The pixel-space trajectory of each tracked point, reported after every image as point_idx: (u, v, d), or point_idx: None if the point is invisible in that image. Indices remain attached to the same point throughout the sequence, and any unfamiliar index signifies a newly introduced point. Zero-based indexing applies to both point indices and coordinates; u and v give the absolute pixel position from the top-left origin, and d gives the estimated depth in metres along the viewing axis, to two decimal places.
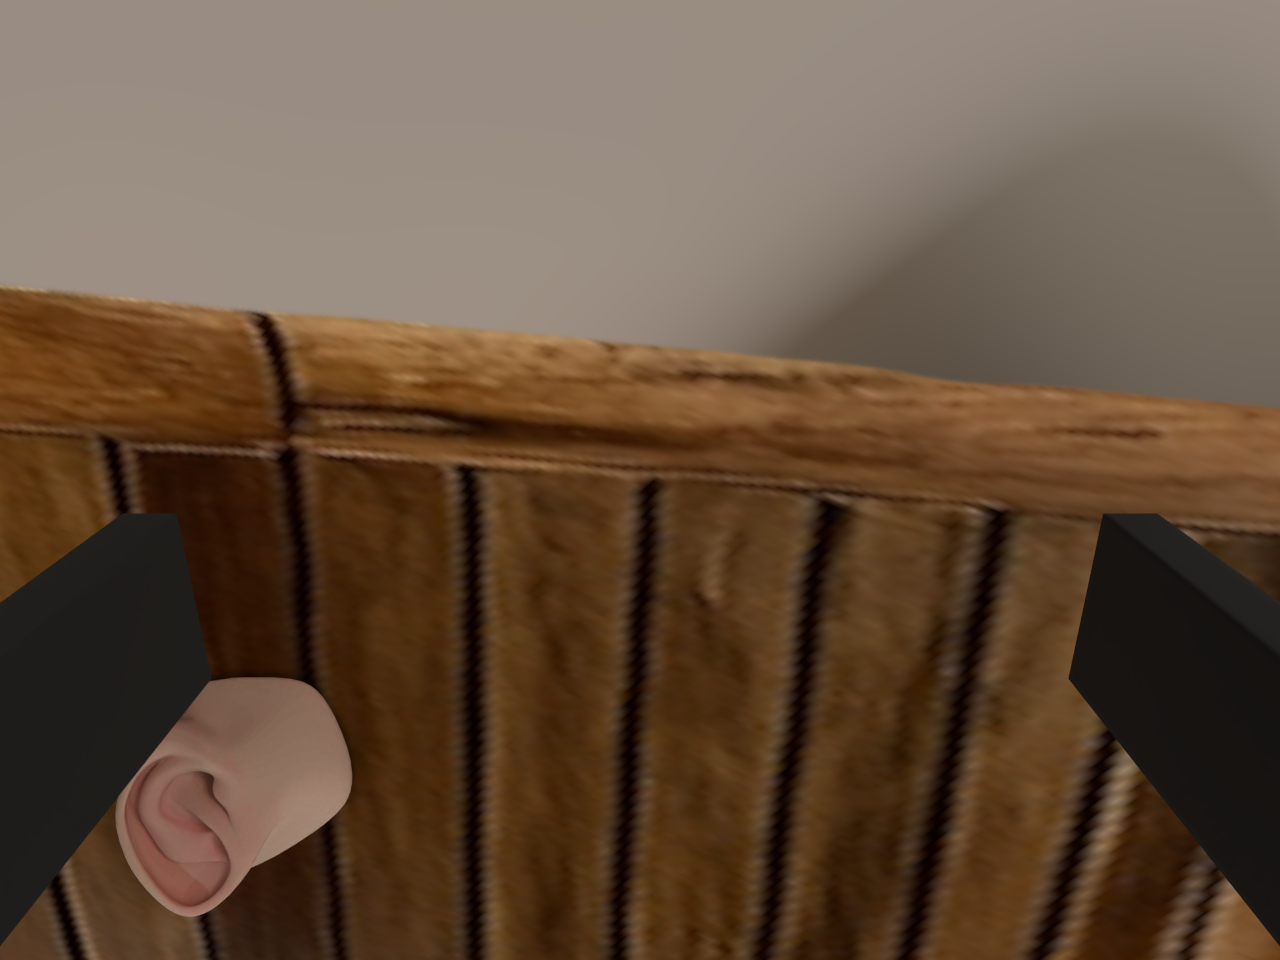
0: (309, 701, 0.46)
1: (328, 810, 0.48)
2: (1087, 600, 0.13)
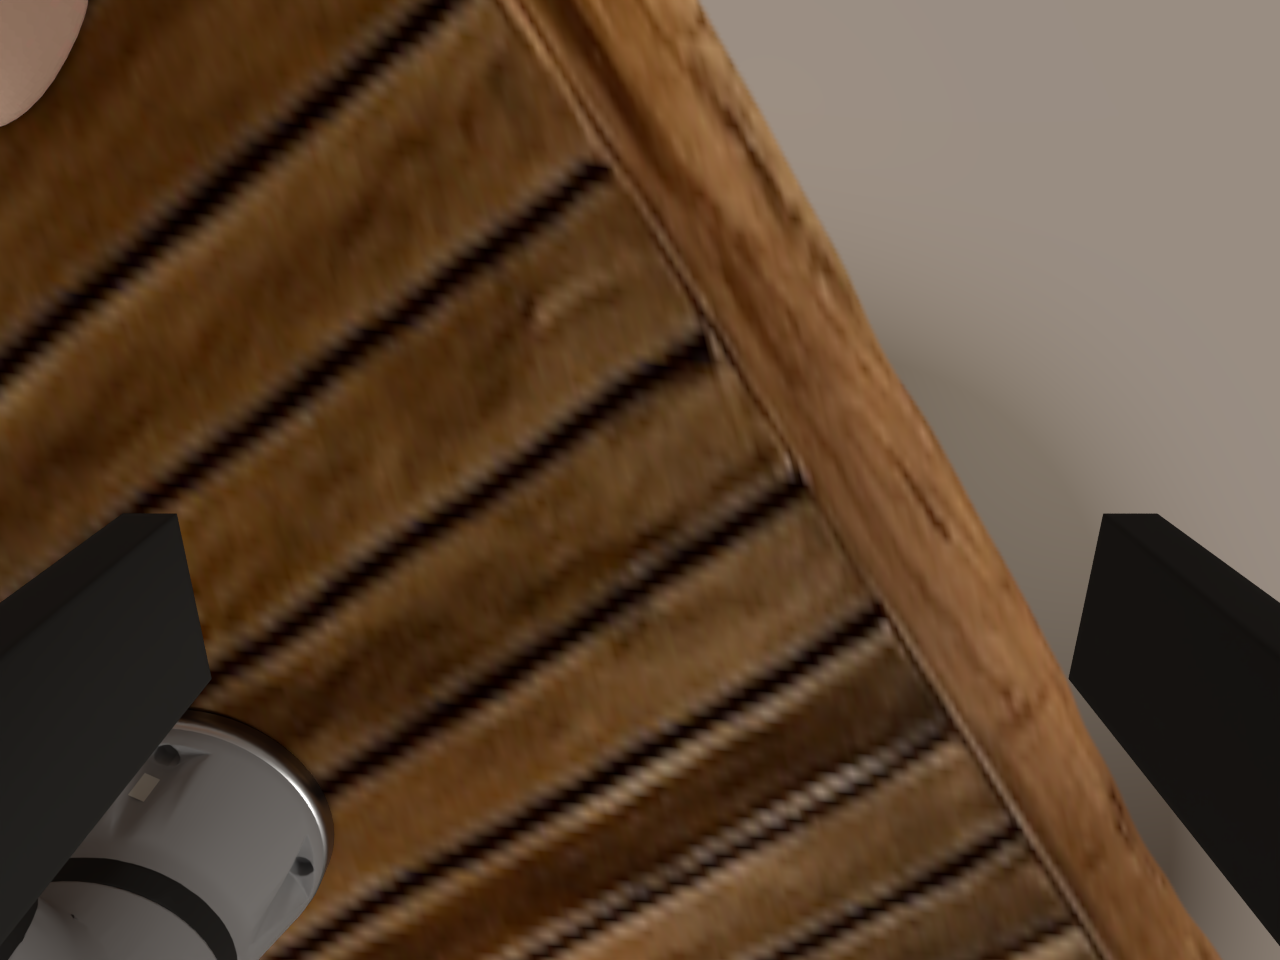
0: None
1: None
2: (1087, 600, 0.13)
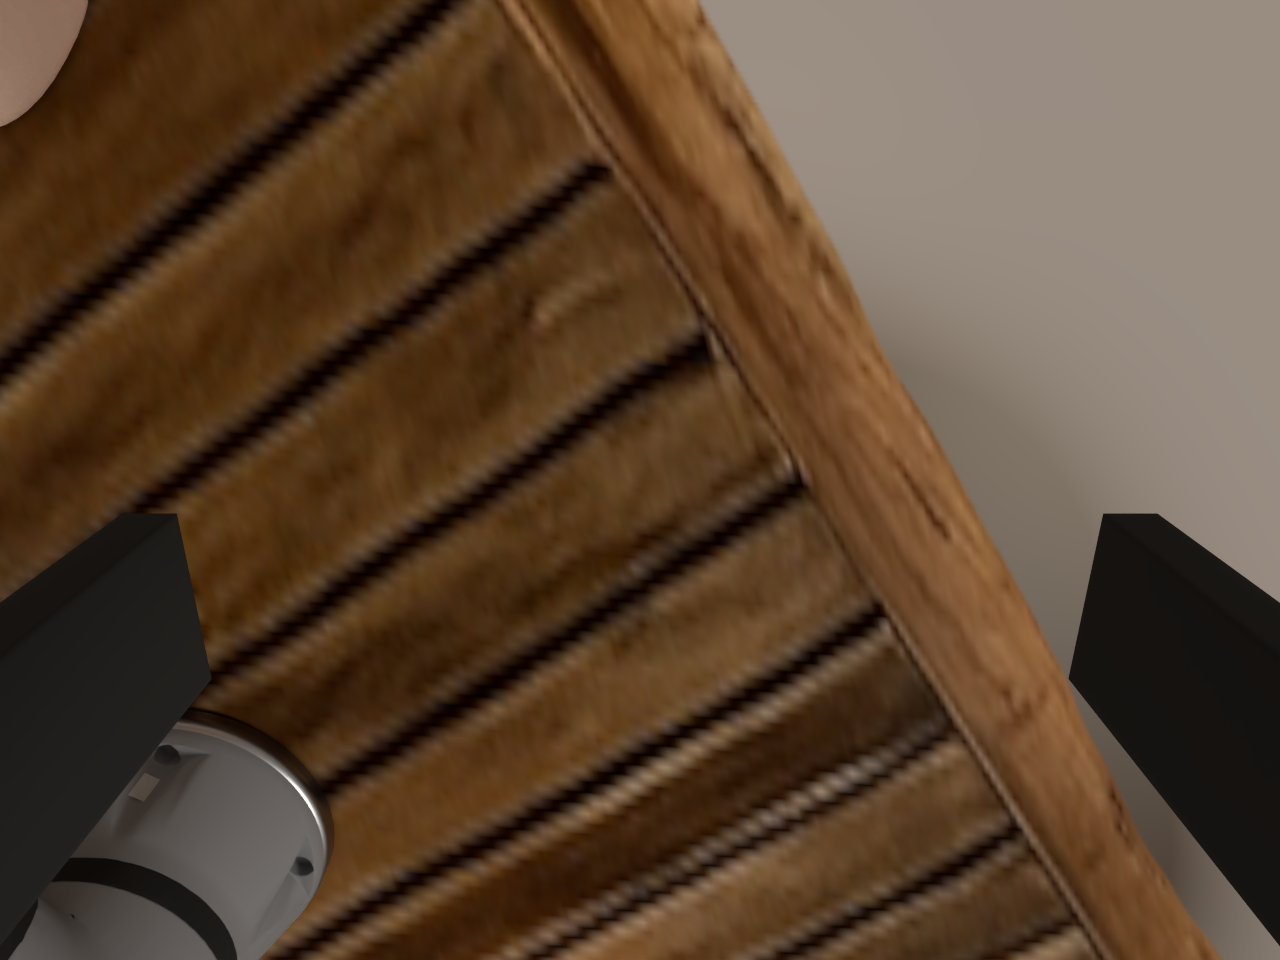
0: None
1: None
2: (1087, 600, 0.13)
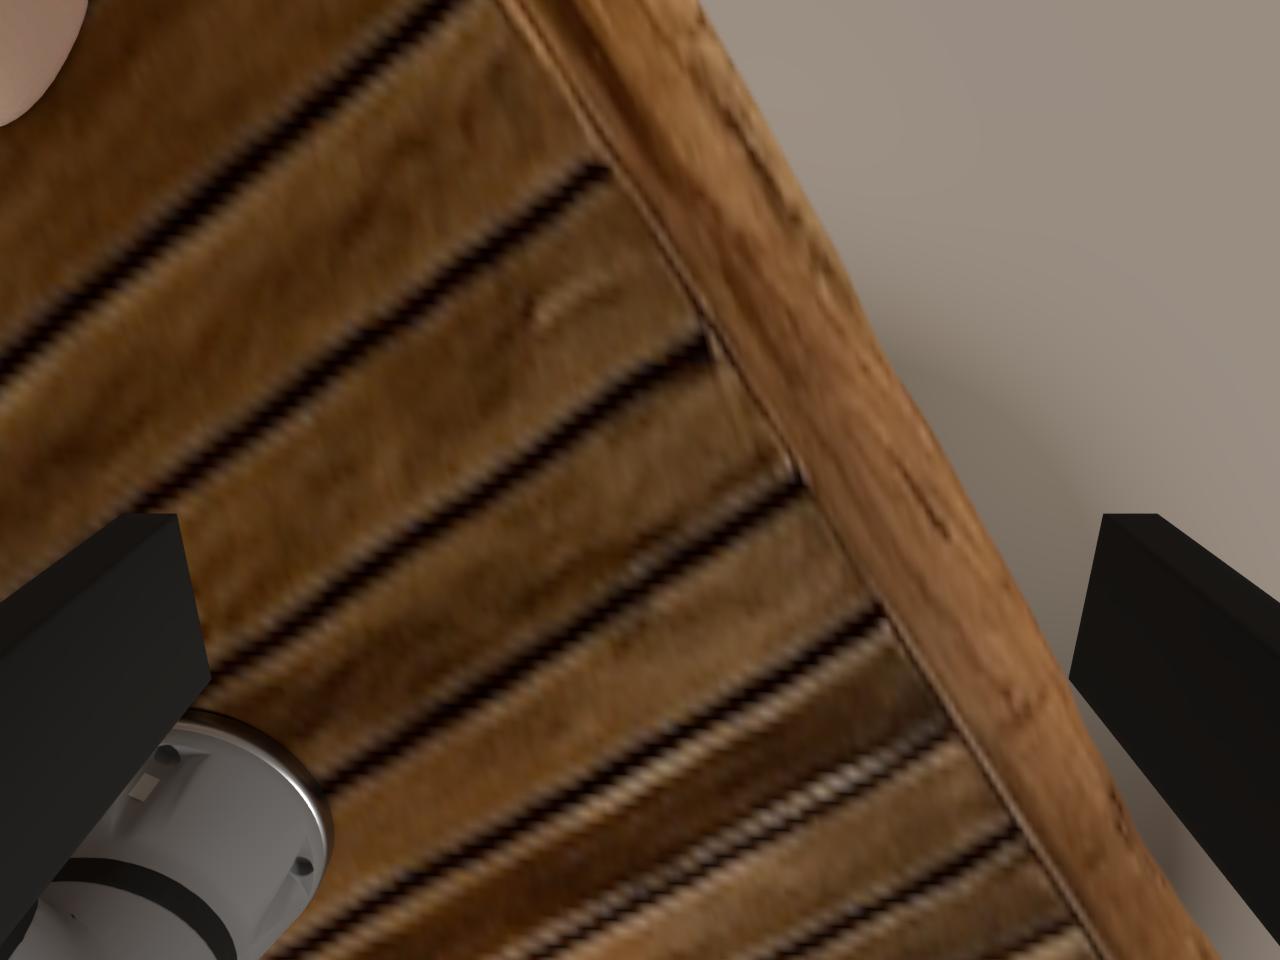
0: None
1: None
2: (1087, 600, 0.13)
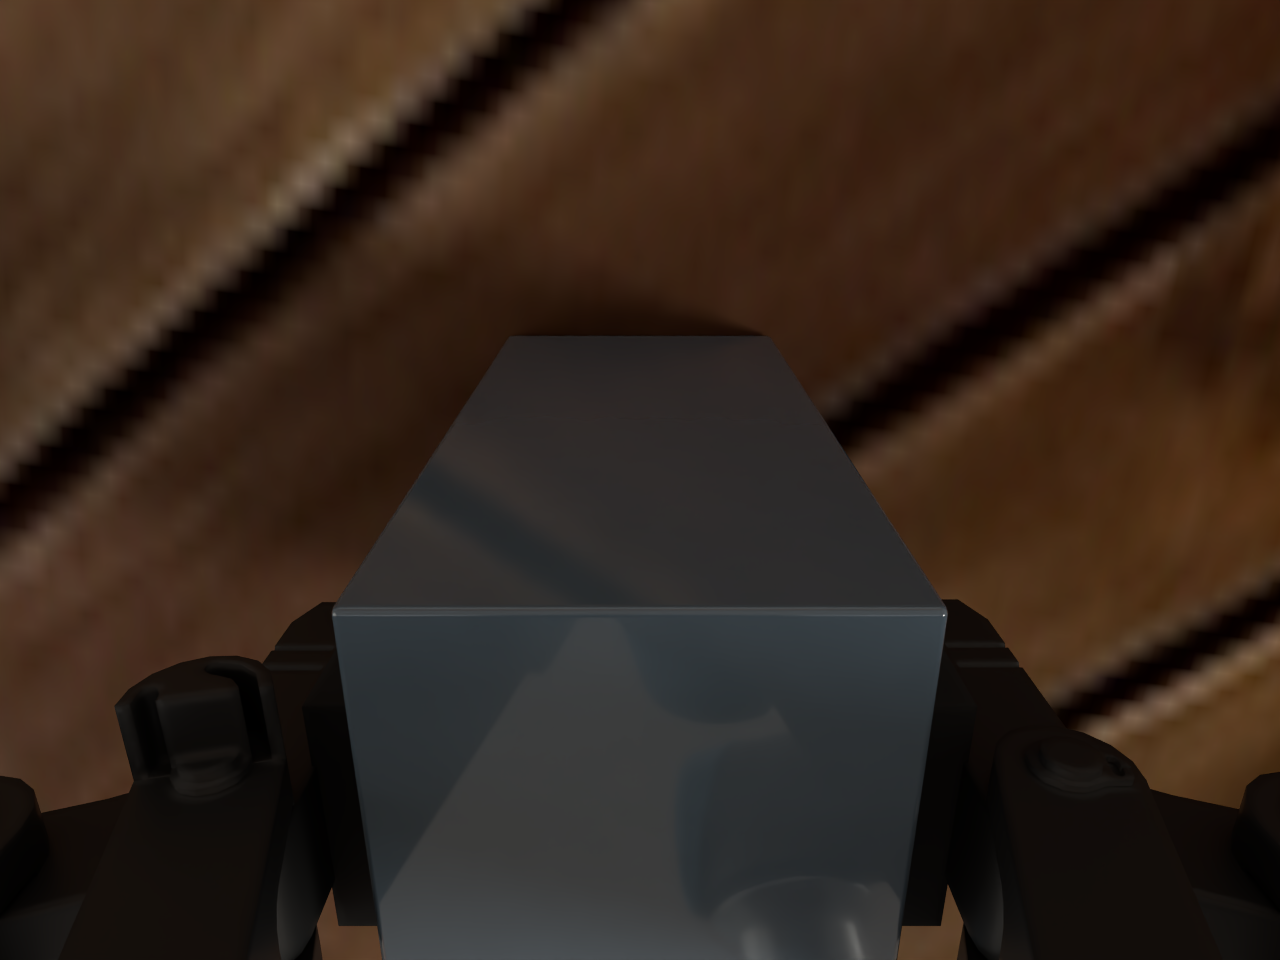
0: None
1: None
2: None
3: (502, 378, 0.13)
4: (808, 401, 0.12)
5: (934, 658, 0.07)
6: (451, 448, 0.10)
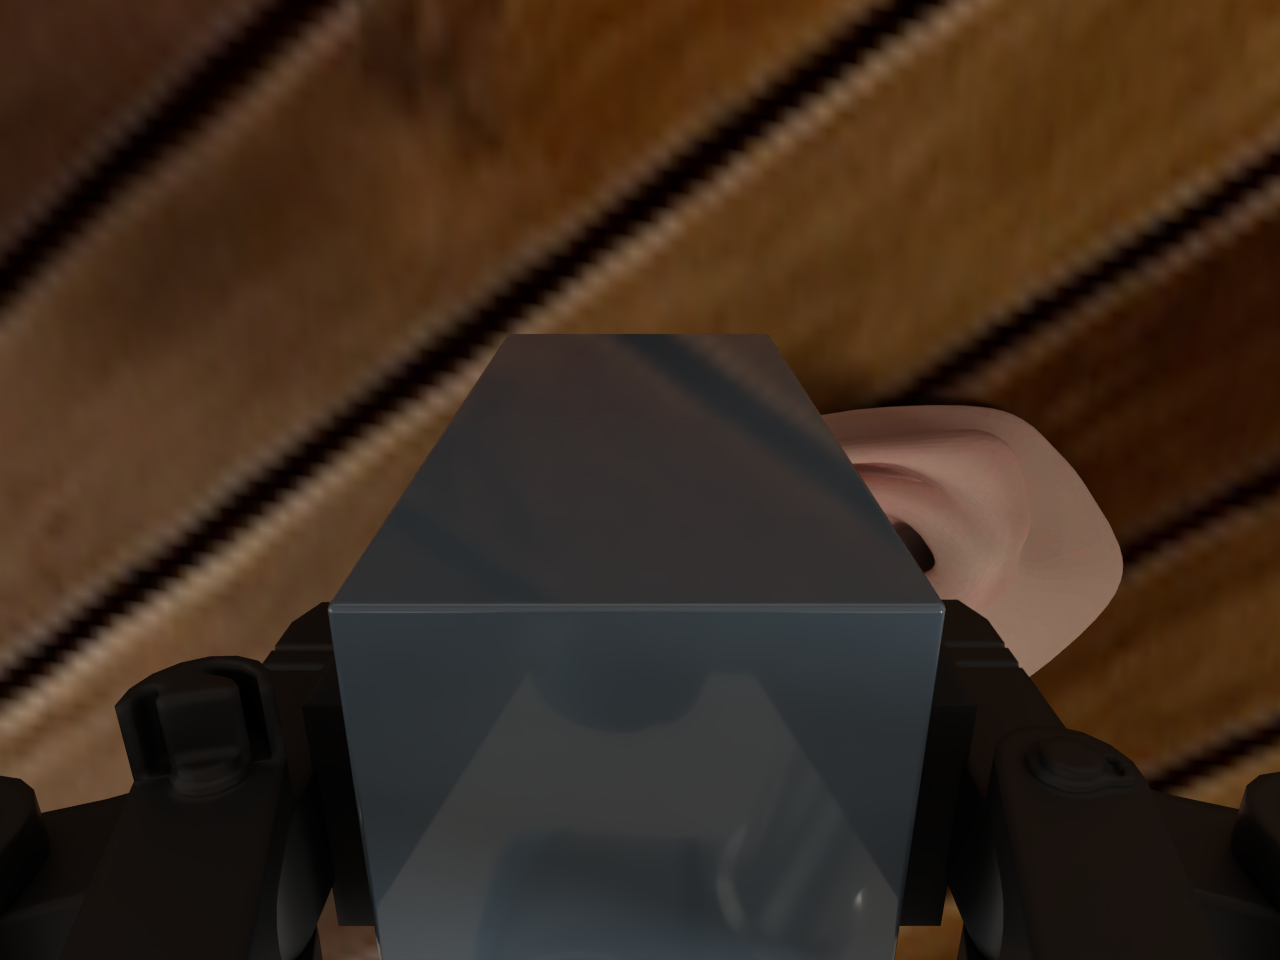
0: (1107, 597, 0.25)
1: None
2: None
3: (500, 376, 0.13)
4: (807, 399, 0.12)
5: (931, 655, 0.07)
6: (449, 446, 0.10)
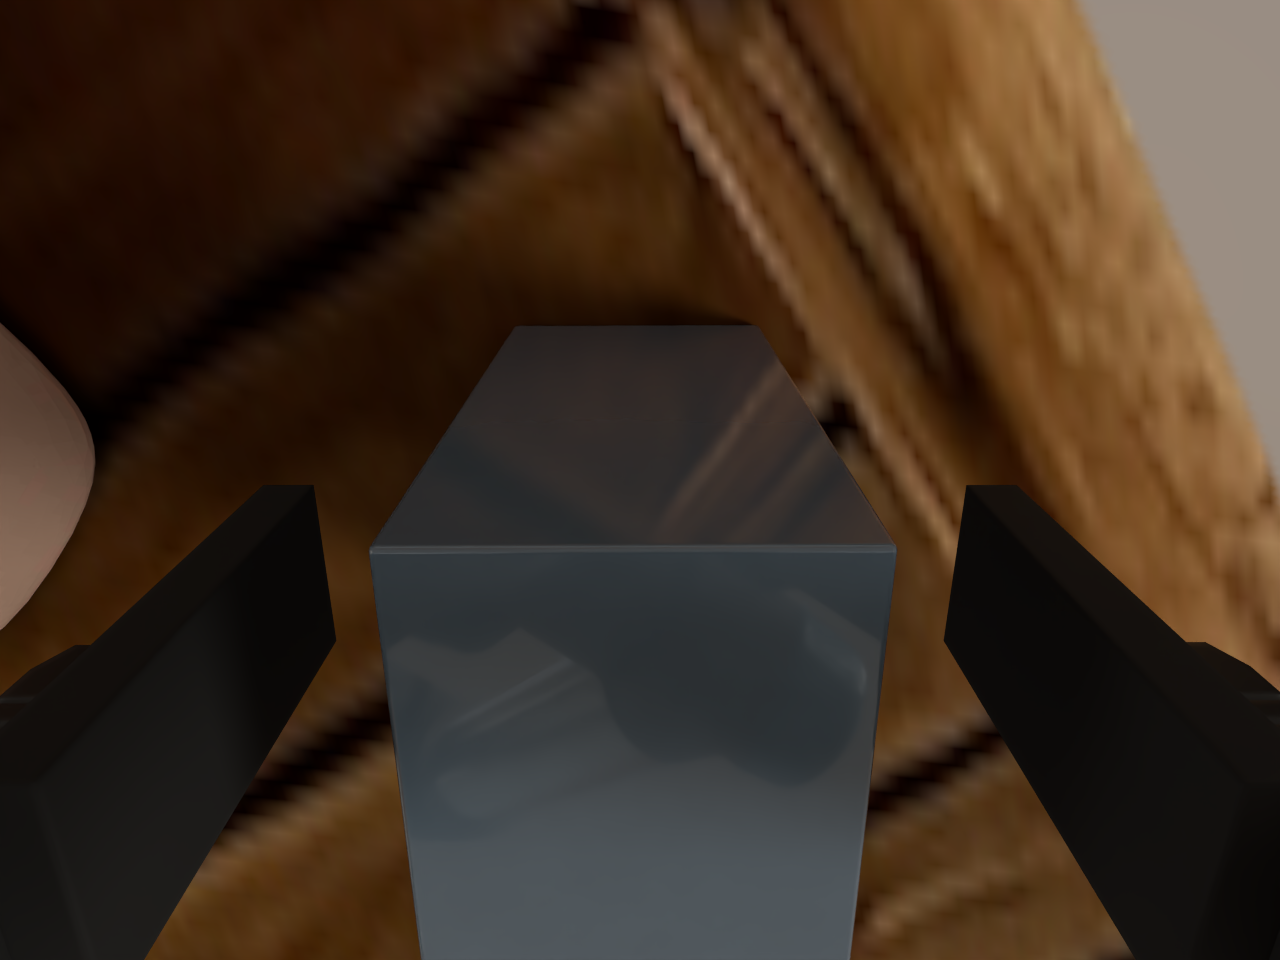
0: (59, 470, 0.17)
1: None
2: (956, 566, 0.14)
3: (509, 363, 0.14)
4: (789, 381, 0.13)
5: (886, 590, 0.08)
6: (465, 421, 0.11)
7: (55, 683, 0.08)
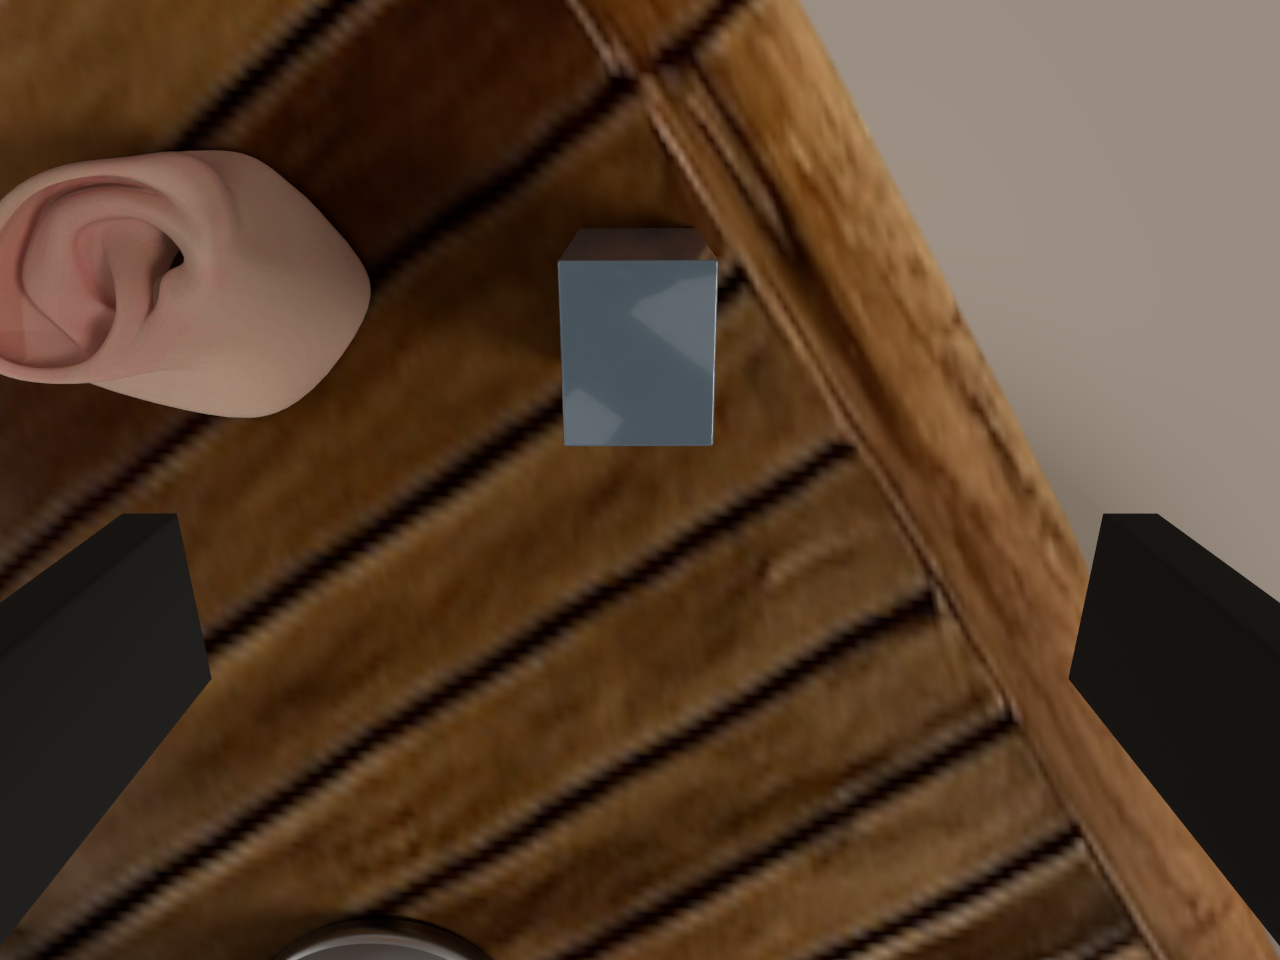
0: (356, 299, 0.35)
1: (235, 408, 0.37)
2: (1087, 600, 0.13)
3: (582, 236, 0.32)
4: (702, 239, 0.31)
5: (715, 275, 0.26)
6: (573, 246, 0.29)
7: None
